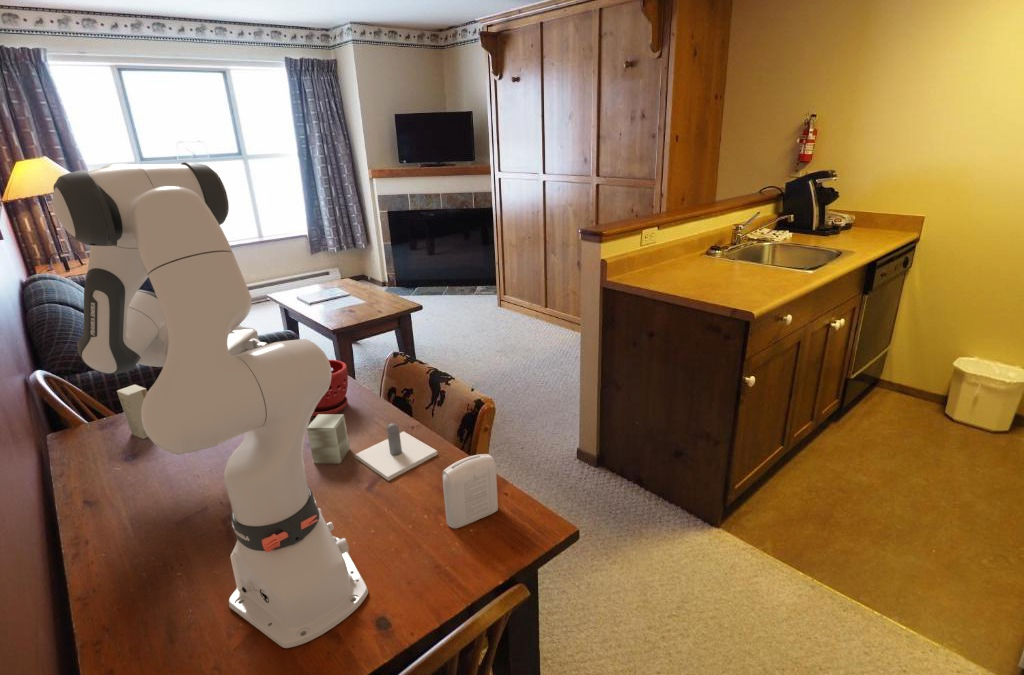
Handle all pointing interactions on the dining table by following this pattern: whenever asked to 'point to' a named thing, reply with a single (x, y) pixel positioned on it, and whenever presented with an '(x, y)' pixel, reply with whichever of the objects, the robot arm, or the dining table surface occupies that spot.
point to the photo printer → (470, 490)
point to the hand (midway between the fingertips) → (255, 357)
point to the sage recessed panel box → (328, 438)
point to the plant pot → (334, 390)
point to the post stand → (395, 453)
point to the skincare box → (133, 408)
